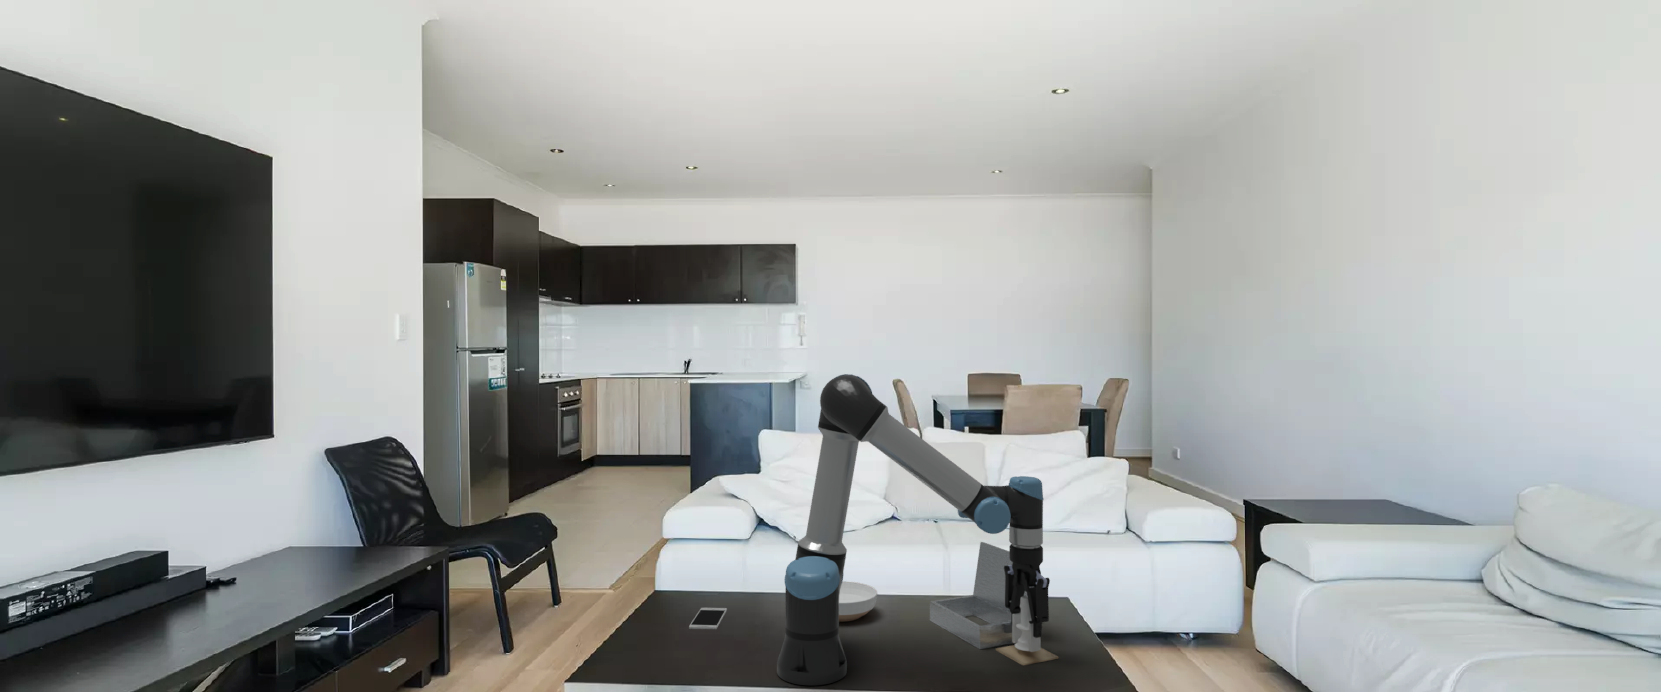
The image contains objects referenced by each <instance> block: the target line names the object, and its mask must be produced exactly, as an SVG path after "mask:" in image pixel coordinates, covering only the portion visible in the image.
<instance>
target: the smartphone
mask: <svg viewBox="0 0 1661 692" xmlns="http://www.w3.org/2000/svg"><path fill="white" fill-rule="evenodd" d="M727 611H728V608H726V607H700V609H699V611H698V612H697V613H696V615H695V617H694V618H693V619H692V621H691V623H690V624H689V626H688V629H689V630H717V629H718V627H719V626H720V624H721V623H722V620H723V619H724V618H725V617H724V616H725V615H726V613H727Z"/></svg>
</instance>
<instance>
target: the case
mask: <svg viewBox="0 0 1661 692" xmlns="http://www.w3.org/2000/svg"><path fill="white" fill-rule="evenodd" d="M1012 564H1013V562H1011V561H1010V558H1009V550H1006V549H1004V548H1001V547H998V546H996V545H993V544H991V543H990V544H989V543H988V542H984V541H980V542H979V551H978V558H977V566H976V571H975V578H974V586H973V592H972V593H973V594H970V595H963V596H957V597H951V598H944V599H936V600H930V601H929V621H930V622H932V623H933V624H935V625H936V626H938V627H940V628H942V629H944V630H945V631H947V632H949V633H951V634H953V635H954V636H956V637H957V638H960V640H962V641H965V642H966V643H967V644H970V645H972V647H973V646H974V647H975V648H977V649H978V650H983V649H988V648H989V649H990V648H994V647H1000V646H1005V645H1011V644H1012V645H1013V644H1014V643H1013V642H1012V624H1011V612H1010V609H1009V608H1006V607H1005V571H1004V566H1006V565H1012ZM1033 587H1034V586H1033ZM1029 588H1032V587H1029ZM1026 594H1027V592H1026V591H1025V593H1024V596H1026ZM1010 602H1011V601H1010ZM1019 613H1021V612H1019ZM971 616H975V617H977V618H978V619H981V620H983V621H985V622H986V623H988V624H984V625H980V624H978V623H976V622H974V621H972V620H970V619H969V618H967V617H971Z"/></svg>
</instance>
